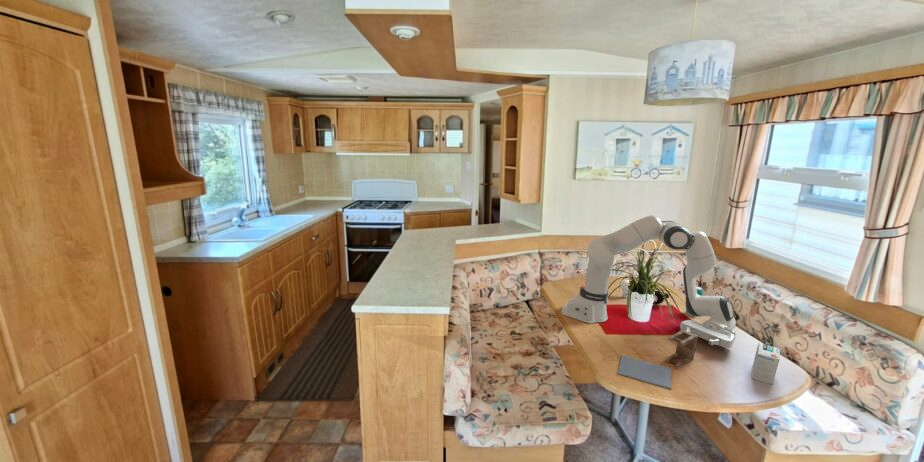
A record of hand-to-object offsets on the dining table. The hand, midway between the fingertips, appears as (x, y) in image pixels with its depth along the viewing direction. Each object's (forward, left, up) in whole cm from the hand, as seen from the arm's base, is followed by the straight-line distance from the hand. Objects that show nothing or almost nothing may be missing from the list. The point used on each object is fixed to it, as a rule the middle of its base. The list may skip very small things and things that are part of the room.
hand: (698, 338), depth 161 cm
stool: (-7, -14, -5) cm, 16 cm away
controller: (-17, +43, -6) cm, 47 cm away
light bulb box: (+22, -8, -6) cm, 24 cm away
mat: (-19, -30, -5) cm, 36 cm away
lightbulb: (-33, +43, -6) cm, 55 cm away
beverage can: (0, +39, -6) cm, 40 cm away
